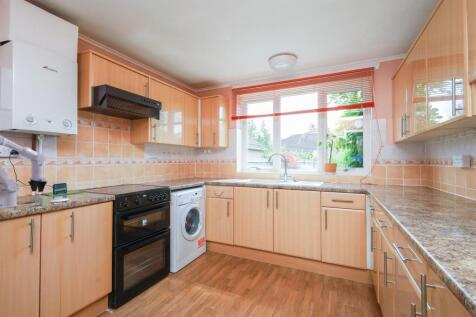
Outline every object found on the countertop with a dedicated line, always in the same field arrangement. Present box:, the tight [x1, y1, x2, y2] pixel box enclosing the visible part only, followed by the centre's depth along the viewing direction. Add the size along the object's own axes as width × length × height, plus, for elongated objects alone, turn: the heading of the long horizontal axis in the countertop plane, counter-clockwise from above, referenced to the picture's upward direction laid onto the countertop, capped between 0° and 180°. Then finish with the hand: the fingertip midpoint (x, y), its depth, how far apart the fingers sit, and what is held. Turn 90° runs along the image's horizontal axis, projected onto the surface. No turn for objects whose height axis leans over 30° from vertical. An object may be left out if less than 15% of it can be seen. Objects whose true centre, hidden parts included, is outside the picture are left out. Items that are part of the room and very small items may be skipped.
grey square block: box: [30, 194, 46, 204], centre depth 150 cm, size 6×6×4 cm
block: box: [38, 195, 50, 207], centre depth 139 cm, size 4×4×5 cm
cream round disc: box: [49, 197, 70, 204], centre depth 151 cm, size 13×13×1 cm
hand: (37, 191), depth 149 cm, fingers open, 7 cm apart
